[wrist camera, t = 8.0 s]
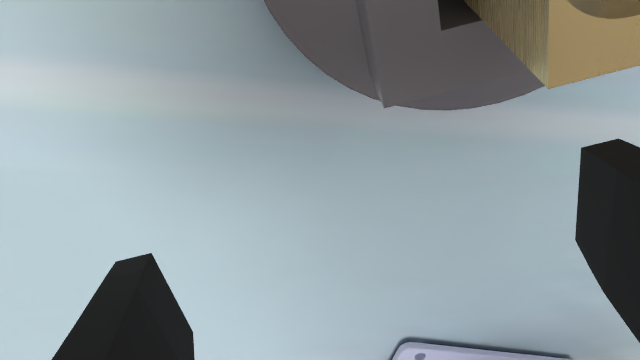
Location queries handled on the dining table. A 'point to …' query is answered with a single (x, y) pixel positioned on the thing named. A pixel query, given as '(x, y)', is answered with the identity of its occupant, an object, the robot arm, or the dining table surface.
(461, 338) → the dining table surface
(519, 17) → the shaft
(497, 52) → the hub
